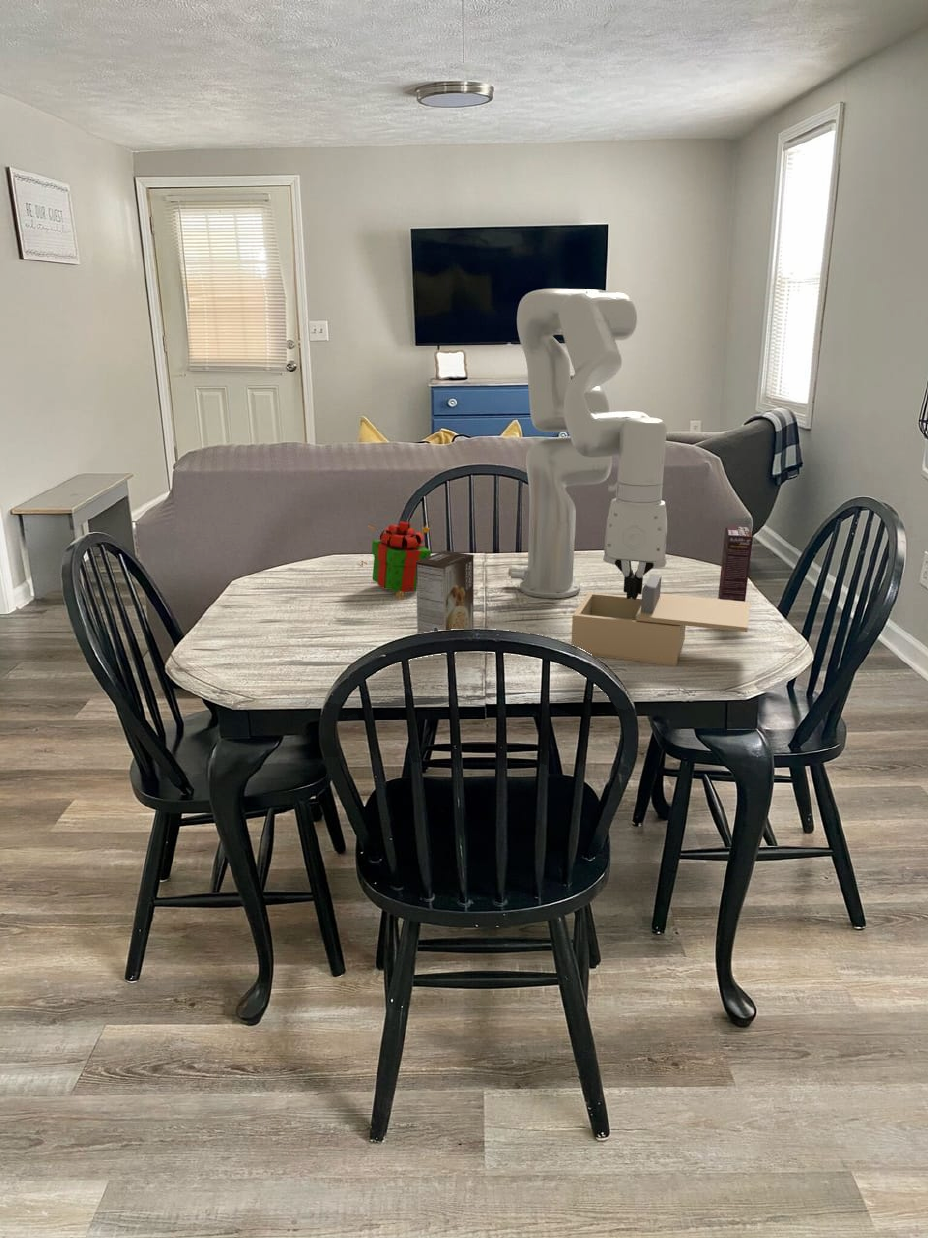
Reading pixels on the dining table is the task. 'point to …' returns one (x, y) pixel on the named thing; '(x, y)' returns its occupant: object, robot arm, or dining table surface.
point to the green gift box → (398, 557)
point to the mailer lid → (691, 609)
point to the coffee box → (445, 592)
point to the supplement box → (735, 563)
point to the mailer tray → (624, 631)
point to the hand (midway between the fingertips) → (632, 596)
